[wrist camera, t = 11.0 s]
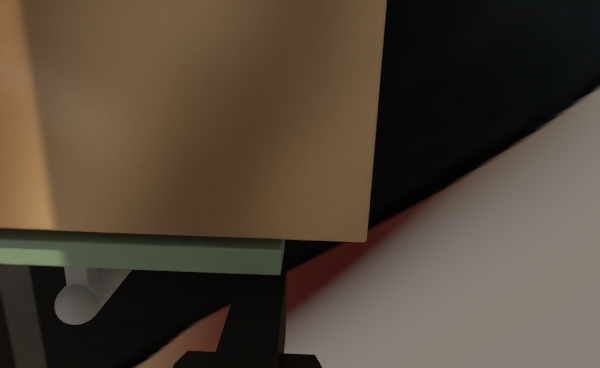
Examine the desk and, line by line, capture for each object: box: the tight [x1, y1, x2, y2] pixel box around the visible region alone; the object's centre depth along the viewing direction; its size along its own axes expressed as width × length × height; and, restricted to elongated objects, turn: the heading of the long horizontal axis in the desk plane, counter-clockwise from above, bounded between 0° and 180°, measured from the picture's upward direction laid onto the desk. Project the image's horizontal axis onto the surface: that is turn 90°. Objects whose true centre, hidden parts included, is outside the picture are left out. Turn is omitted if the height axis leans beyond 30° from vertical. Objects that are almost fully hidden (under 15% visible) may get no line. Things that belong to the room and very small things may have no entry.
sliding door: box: [0, 228, 286, 325], centre depth 18 cm, size 8×4×11 cm, turn 88°
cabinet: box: [0, 0, 387, 242], centre depth 15 cm, size 18×12×12 cm, turn 88°
